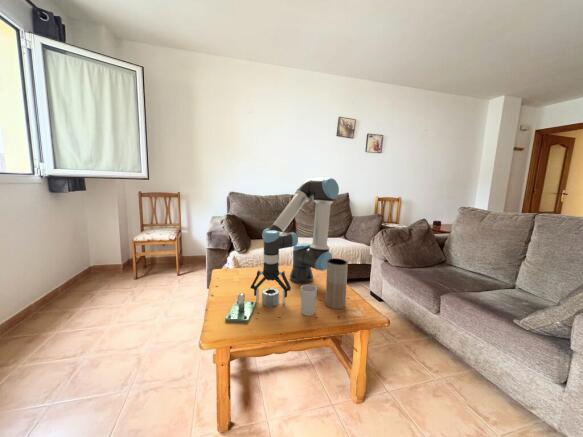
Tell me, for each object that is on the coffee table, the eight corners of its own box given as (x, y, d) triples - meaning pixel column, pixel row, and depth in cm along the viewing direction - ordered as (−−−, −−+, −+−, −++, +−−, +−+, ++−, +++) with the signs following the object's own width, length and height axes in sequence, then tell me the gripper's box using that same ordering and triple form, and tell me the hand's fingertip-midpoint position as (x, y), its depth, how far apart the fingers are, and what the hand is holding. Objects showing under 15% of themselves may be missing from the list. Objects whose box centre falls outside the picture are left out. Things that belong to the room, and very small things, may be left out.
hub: (279, 299, 125) (279, 288, 124) (277, 307, 117) (277, 295, 116) (264, 298, 125) (264, 287, 124) (261, 306, 117) (261, 294, 117)
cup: (302, 317, 108) (303, 292, 106) (297, 308, 116) (298, 285, 114) (318, 315, 110) (320, 290, 109) (312, 306, 118) (313, 283, 116)
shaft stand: (255, 304, 118) (255, 287, 117) (247, 322, 103) (247, 303, 101) (236, 303, 119) (235, 286, 118) (225, 321, 103) (225, 302, 102)
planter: (321, 304, 121) (323, 260, 118) (332, 297, 128) (334, 257, 125) (338, 311, 114) (340, 265, 111) (349, 304, 121) (351, 261, 118)
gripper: (296, 260, 121) (295, 300, 124) (248, 258, 123) (248, 297, 125) (295, 265, 114) (294, 307, 116) (244, 263, 115) (244, 304, 118)
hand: (270, 302), depth 121 cm, fingers open, 13 cm apart
